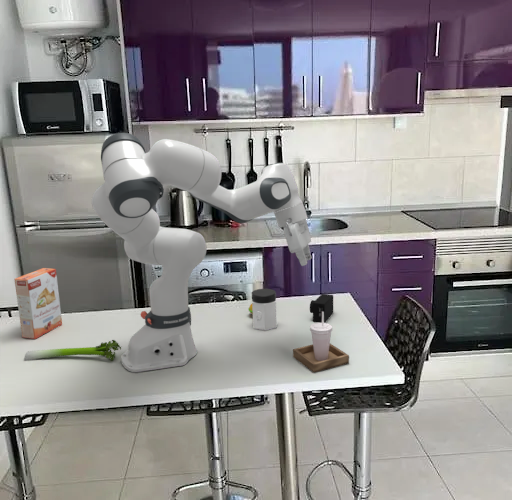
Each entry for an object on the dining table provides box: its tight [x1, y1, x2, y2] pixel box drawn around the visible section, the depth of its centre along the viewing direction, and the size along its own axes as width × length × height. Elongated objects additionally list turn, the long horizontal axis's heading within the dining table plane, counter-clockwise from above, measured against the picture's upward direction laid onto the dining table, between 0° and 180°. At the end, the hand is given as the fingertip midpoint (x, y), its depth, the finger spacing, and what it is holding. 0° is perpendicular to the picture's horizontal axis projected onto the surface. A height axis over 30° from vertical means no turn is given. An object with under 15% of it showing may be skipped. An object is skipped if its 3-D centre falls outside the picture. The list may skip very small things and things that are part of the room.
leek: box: [23, 339, 122, 361], centre depth 161 cm, size 6×7×30 cm
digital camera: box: [309, 293, 334, 323], centre depth 186 cm, size 10×5×7 cm, turn 155°
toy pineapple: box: [248, 303, 253, 316], centre depth 191 cm, size 7×10×5 cm
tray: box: [292, 343, 350, 374], centre depth 154 cm, size 12×12×2 cm
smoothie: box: [309, 312, 333, 361], centre depth 152 cm, size 6×6×14 cm
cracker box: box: [13, 267, 63, 340], centre depth 182 cm, size 14×6×21 cm, turn 161°
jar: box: [251, 288, 277, 331], centre depth 180 cm, size 9×8×12 cm
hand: (306, 262), depth 156 cm, fingers open, 8 cm apart
